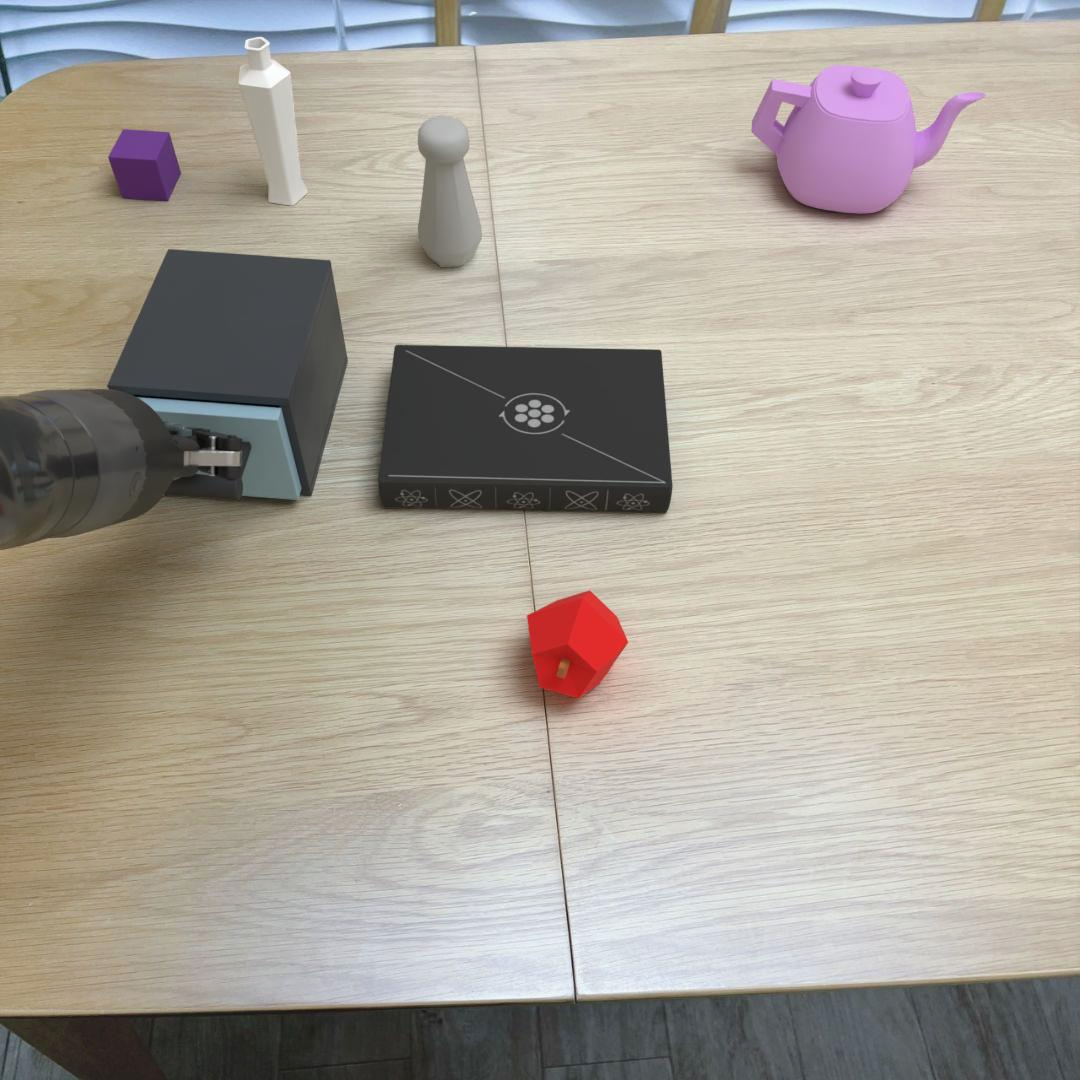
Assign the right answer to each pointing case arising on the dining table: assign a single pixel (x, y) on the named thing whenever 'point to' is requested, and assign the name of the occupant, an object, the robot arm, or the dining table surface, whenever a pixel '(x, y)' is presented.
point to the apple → (574, 643)
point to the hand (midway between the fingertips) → (193, 443)
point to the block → (145, 164)
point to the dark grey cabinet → (243, 341)
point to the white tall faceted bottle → (272, 121)
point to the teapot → (850, 137)
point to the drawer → (262, 450)
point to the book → (526, 429)
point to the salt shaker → (447, 194)
